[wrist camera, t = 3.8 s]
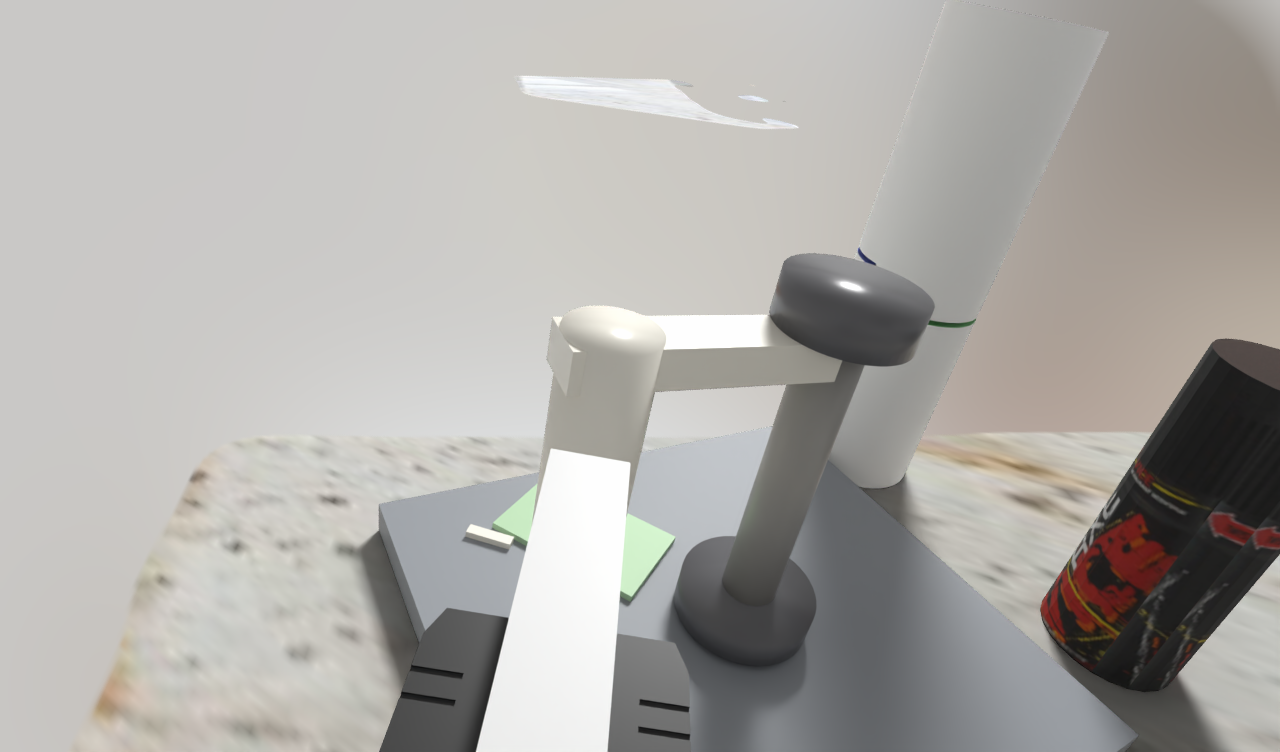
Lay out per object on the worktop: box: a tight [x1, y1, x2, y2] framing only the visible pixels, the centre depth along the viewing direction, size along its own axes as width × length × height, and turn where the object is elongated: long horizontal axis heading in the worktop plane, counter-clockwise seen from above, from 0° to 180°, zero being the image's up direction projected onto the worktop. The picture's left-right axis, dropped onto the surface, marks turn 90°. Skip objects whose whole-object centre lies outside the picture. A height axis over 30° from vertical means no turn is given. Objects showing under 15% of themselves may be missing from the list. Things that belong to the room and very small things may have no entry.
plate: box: [379, 426, 1139, 752], centre depth 30 cm, size 24×22×2 cm
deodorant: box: [1040, 339, 1280, 692], centre depth 31 cm, size 6×6×15 cm
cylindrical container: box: [828, 0, 1109, 489], centre depth 39 cm, size 7×7×25 cm
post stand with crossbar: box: [531, 253, 935, 666], centre depth 25 cm, size 12×6×15 cm, turn 112°
